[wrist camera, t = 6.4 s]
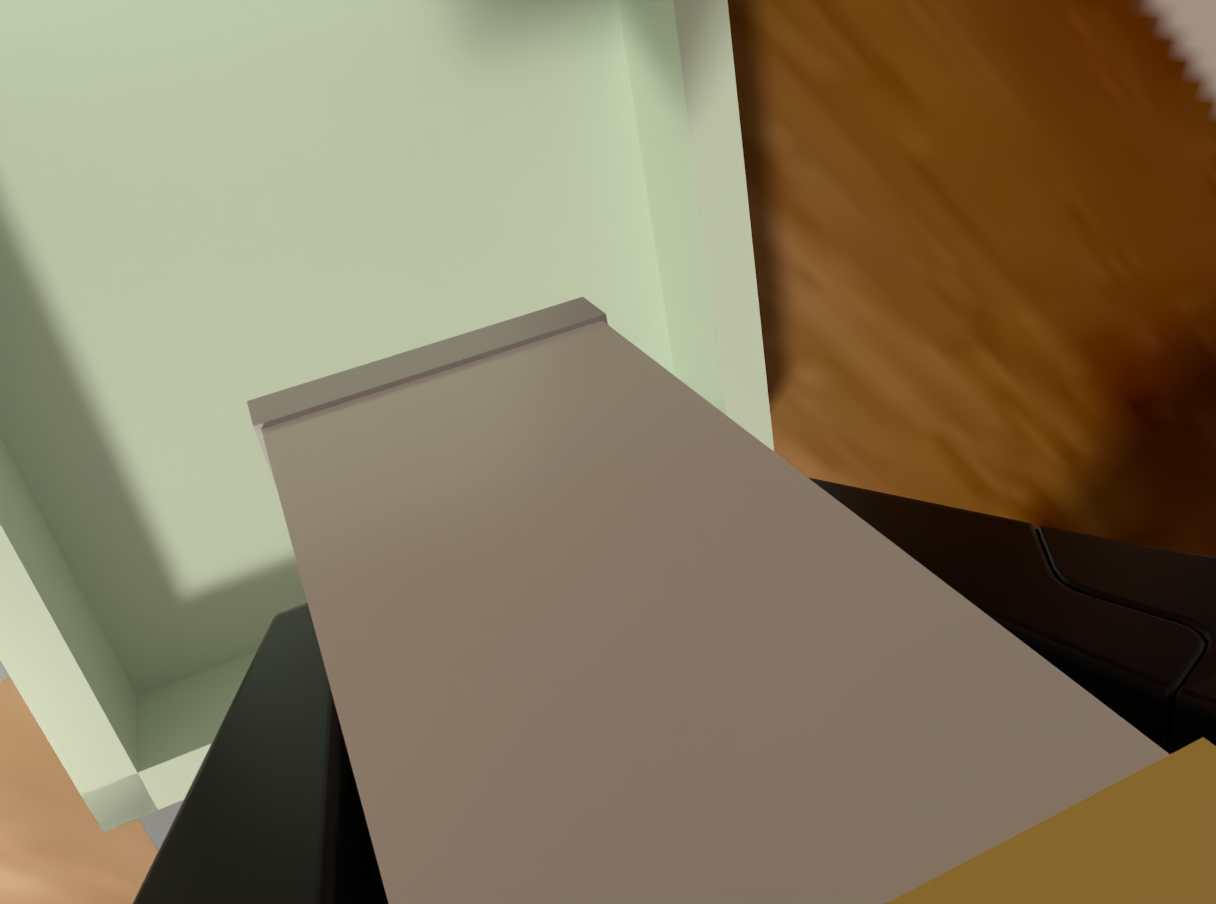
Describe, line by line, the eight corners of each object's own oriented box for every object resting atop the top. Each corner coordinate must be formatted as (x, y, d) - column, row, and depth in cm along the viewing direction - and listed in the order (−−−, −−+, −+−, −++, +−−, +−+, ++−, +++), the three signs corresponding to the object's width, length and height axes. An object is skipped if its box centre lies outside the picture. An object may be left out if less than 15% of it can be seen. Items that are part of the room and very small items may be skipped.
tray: (624, -193, 15) (704, -218, 13) (718, 494, 21) (784, 553, 18) (-313, -25, 12) (-409, -23, 10) (106, 728, 17) (103, 833, 15)
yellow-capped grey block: (586, 290, 10) (1398, 879, 4) (639, 568, 12) (1263, 1319, 5) (239, 397, 9) (486, 1440, 3) (349, 683, 11) (669, 1758, 4)
